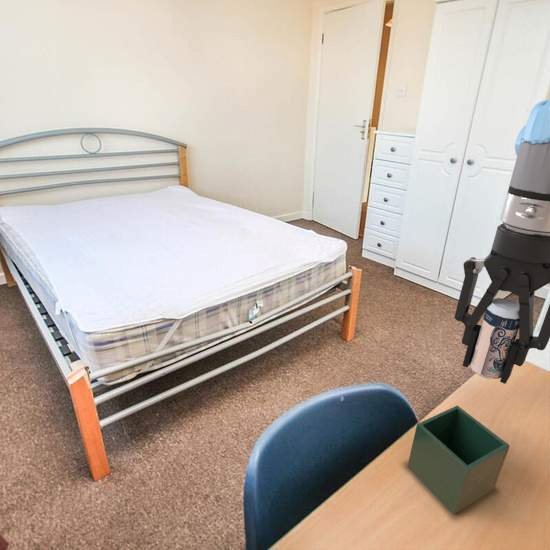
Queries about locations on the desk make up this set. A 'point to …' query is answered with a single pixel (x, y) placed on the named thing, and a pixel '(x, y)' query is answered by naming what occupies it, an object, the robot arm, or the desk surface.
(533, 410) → the desk surface
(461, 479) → the green open-top box
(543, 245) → the robot arm
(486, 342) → the beer can
